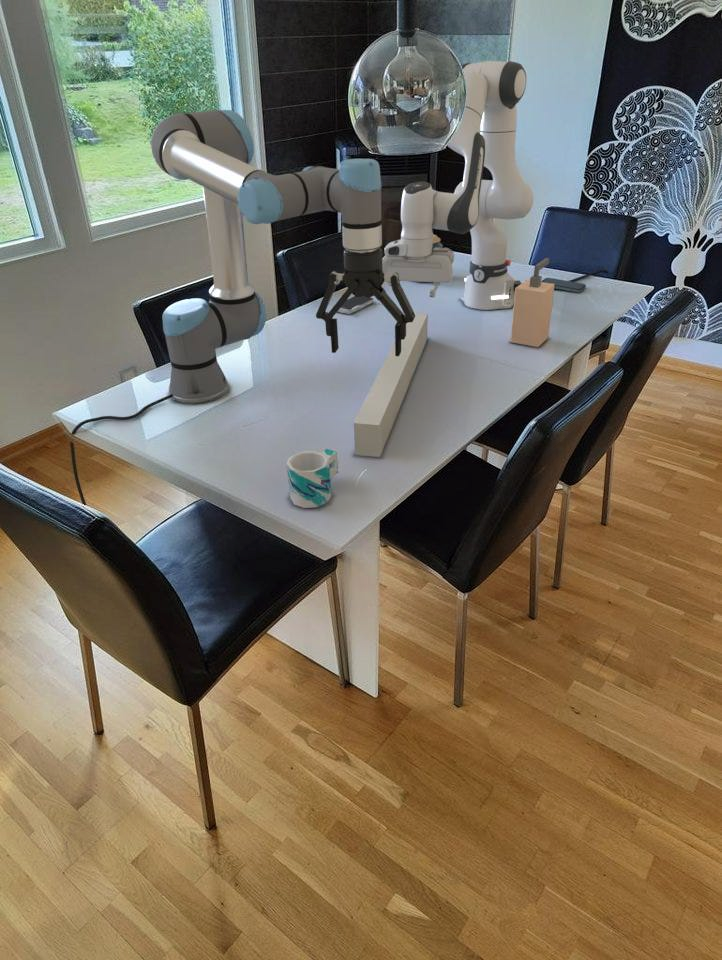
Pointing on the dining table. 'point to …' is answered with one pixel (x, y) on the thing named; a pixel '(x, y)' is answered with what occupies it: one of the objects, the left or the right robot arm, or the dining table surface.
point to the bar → (389, 390)
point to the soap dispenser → (532, 309)
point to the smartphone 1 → (355, 304)
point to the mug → (311, 477)
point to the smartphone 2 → (565, 284)
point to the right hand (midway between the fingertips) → (416, 296)
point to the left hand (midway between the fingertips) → (366, 352)
